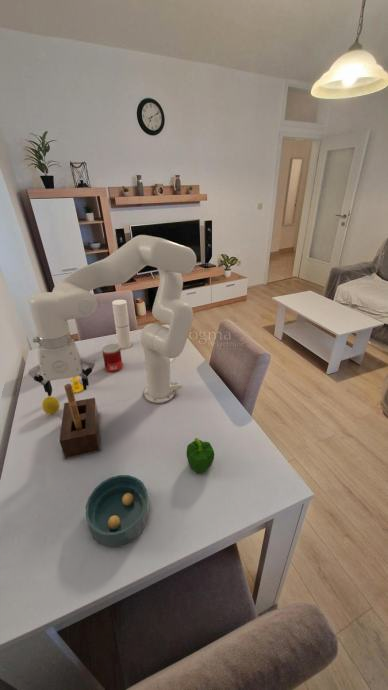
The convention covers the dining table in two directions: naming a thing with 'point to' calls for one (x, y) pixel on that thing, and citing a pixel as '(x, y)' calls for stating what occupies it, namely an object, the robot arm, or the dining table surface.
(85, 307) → the robot arm
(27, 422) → the dining table surface
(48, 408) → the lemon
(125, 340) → the cylindrical container
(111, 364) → the canned food
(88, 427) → the stand
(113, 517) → the dough ball
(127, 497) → the dough ball
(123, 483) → the bowl
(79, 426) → the stirring stick
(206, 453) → the bell pepper
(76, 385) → the candle
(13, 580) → the dining table surface
